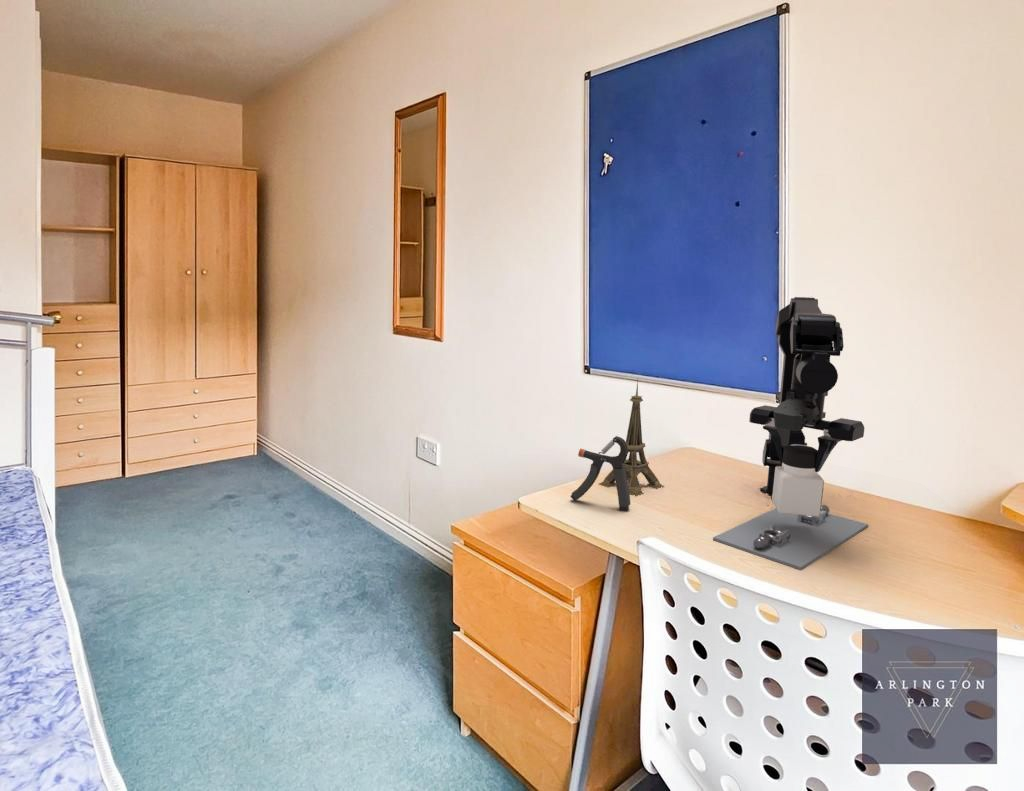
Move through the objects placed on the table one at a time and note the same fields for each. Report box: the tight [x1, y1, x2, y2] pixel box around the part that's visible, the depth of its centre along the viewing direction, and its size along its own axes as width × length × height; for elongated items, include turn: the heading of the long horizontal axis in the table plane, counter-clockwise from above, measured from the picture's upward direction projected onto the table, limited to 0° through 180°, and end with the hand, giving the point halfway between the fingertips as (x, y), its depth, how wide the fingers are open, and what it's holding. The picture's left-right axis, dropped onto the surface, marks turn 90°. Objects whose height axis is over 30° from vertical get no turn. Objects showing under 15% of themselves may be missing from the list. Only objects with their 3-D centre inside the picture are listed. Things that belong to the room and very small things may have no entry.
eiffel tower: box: [598, 378, 665, 497], centre depth 146 cm, size 11×11×25 cm
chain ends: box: [753, 504, 830, 550], centre depth 122 cm, size 29×4×2 cm, turn 132°
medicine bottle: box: [771, 445, 825, 517], centre depth 120 cm, size 7×7×12 cm
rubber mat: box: [712, 507, 869, 571], centre depth 122 cm, size 30×16×1 cm, turn 132°
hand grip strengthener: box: [570, 435, 631, 512], centre depth 133 cm, size 2×12×15 cm, turn 65°
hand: (799, 467), depth 120 cm, fingers closed on medicine bottle, 6 cm apart
